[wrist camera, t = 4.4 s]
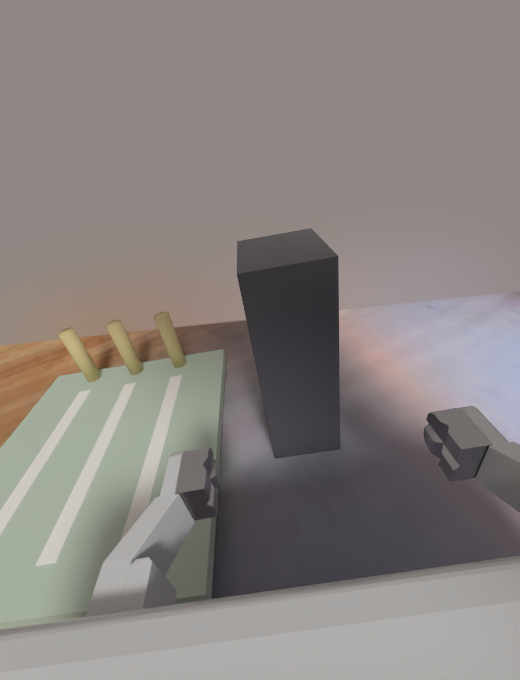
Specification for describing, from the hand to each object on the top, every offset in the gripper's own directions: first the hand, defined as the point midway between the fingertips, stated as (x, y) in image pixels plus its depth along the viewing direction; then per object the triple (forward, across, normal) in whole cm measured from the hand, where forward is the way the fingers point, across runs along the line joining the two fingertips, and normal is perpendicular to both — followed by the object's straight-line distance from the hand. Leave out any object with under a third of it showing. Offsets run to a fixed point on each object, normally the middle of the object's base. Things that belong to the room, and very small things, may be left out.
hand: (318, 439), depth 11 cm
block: (+6, 0, +6) cm, 9 cm away
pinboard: (+6, +14, +6) cm, 16 cm away
